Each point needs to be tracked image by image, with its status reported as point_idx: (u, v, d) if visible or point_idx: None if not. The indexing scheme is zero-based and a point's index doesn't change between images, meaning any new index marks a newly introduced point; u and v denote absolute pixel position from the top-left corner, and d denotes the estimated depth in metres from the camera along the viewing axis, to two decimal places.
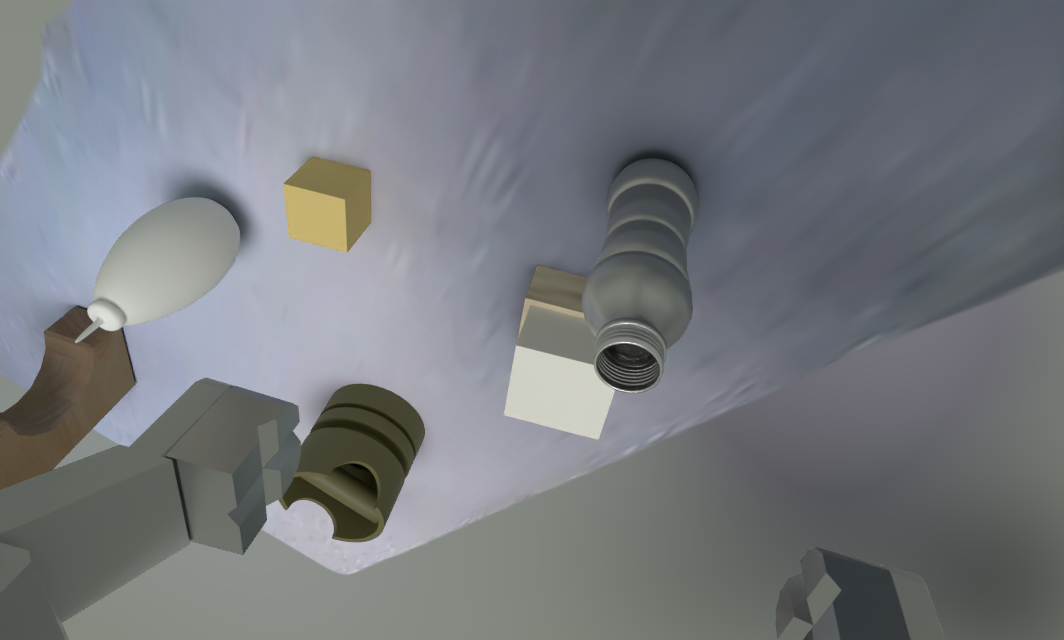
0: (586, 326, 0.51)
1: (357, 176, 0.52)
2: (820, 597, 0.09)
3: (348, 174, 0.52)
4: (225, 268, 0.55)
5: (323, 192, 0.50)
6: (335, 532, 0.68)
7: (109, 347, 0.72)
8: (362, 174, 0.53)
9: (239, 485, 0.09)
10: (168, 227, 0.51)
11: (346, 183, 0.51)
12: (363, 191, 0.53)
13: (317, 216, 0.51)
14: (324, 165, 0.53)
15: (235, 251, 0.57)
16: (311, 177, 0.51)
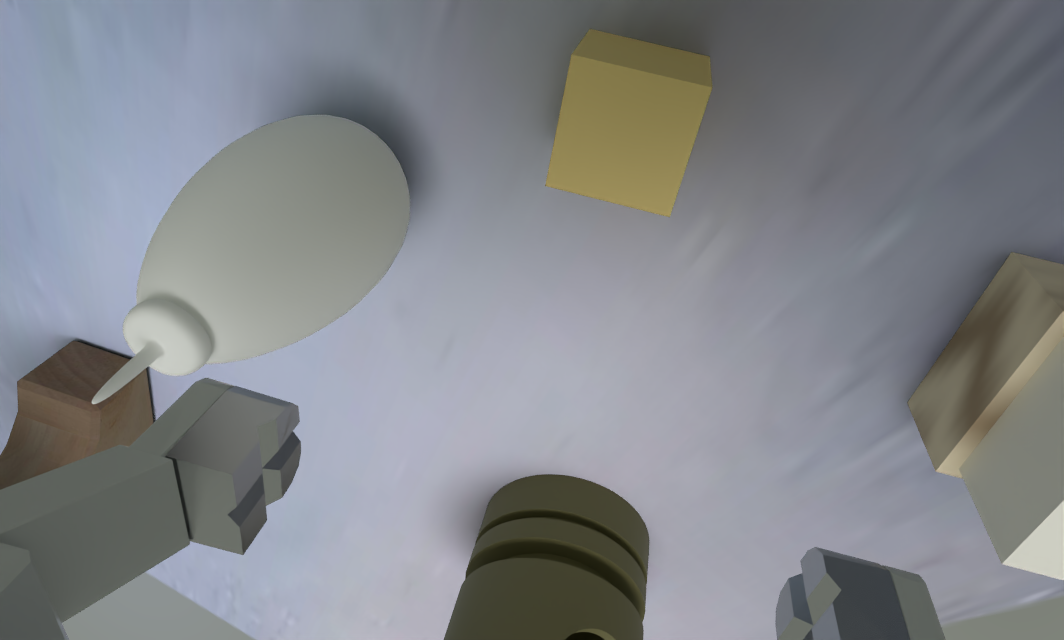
0: None
1: (695, 60, 0.25)
2: (820, 597, 0.09)
3: (677, 56, 0.25)
4: (395, 253, 0.27)
5: (660, 74, 0.23)
6: None
7: (126, 409, 0.43)
8: (701, 59, 0.26)
9: (240, 486, 0.09)
10: (305, 152, 0.24)
11: (687, 66, 0.24)
12: None
13: (629, 133, 0.24)
14: (622, 40, 0.26)
15: (408, 224, 0.29)
16: (615, 52, 0.24)
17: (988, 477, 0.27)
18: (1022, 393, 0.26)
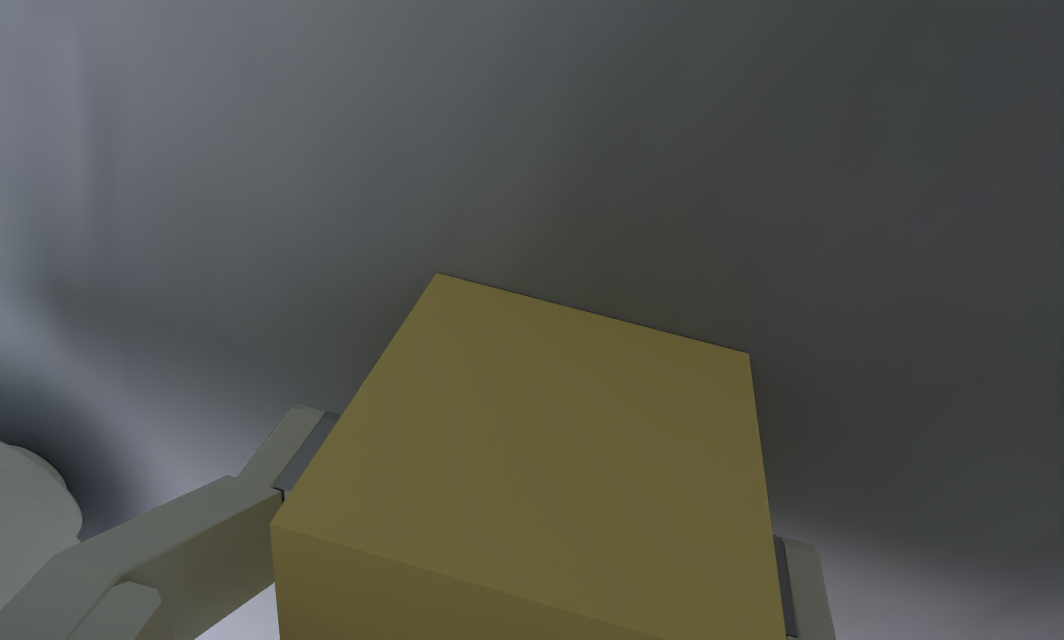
0: None
1: (715, 402, 0.09)
2: None
3: (661, 390, 0.09)
4: None
5: (595, 605, 0.06)
6: None
7: None
8: (729, 385, 0.09)
9: None
10: None
11: (693, 468, 0.08)
12: None
13: None
14: (510, 327, 0.09)
15: None
16: (463, 432, 0.08)
17: None
18: None
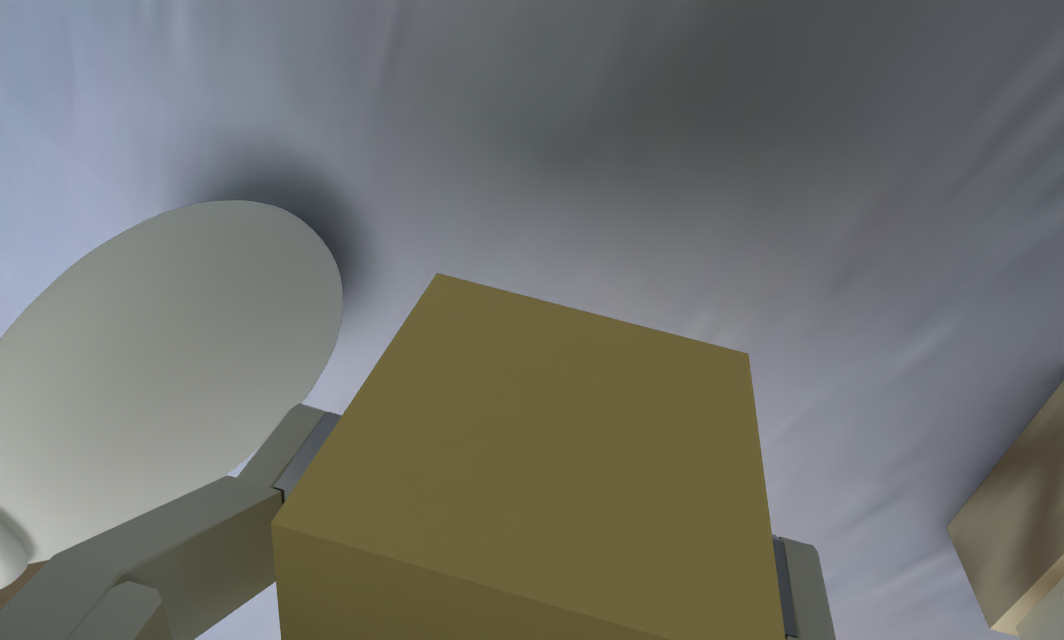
0: None
1: (714, 402, 0.09)
2: None
3: (661, 390, 0.09)
4: (317, 373, 0.22)
5: (594, 604, 0.06)
6: None
7: None
8: (728, 385, 0.09)
9: None
10: (186, 263, 0.18)
11: (692, 468, 0.08)
12: None
13: None
14: (510, 327, 0.09)
15: (338, 330, 0.23)
16: (463, 432, 0.08)
17: None
18: None
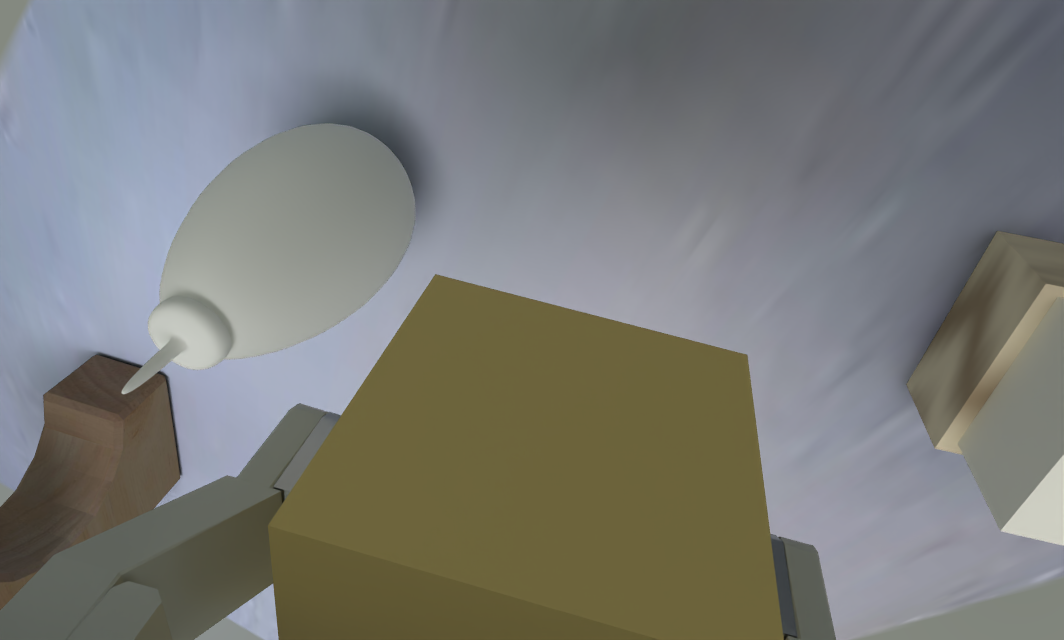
0: None
1: (712, 403, 0.09)
2: None
3: (660, 392, 0.09)
4: (402, 252, 0.29)
5: (592, 607, 0.06)
6: None
7: (148, 419, 0.44)
8: (727, 386, 0.09)
9: None
10: (313, 157, 0.25)
11: (691, 469, 0.08)
12: None
13: None
14: (509, 328, 0.09)
15: (413, 225, 0.30)
16: (461, 434, 0.08)
17: (985, 449, 0.28)
18: (1014, 364, 0.27)
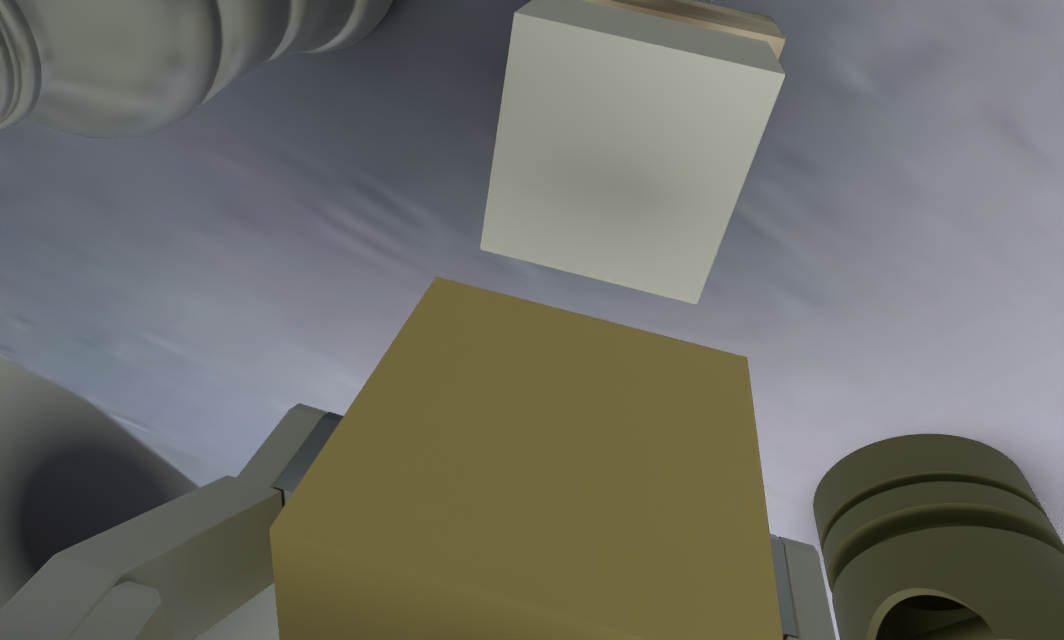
0: None
1: (713, 405, 0.09)
2: None
3: (660, 394, 0.09)
4: None
5: (593, 611, 0.06)
6: None
7: None
8: (727, 389, 0.09)
9: None
10: None
11: (691, 473, 0.08)
12: None
13: None
14: (509, 331, 0.09)
15: None
16: (462, 437, 0.08)
17: None
18: None
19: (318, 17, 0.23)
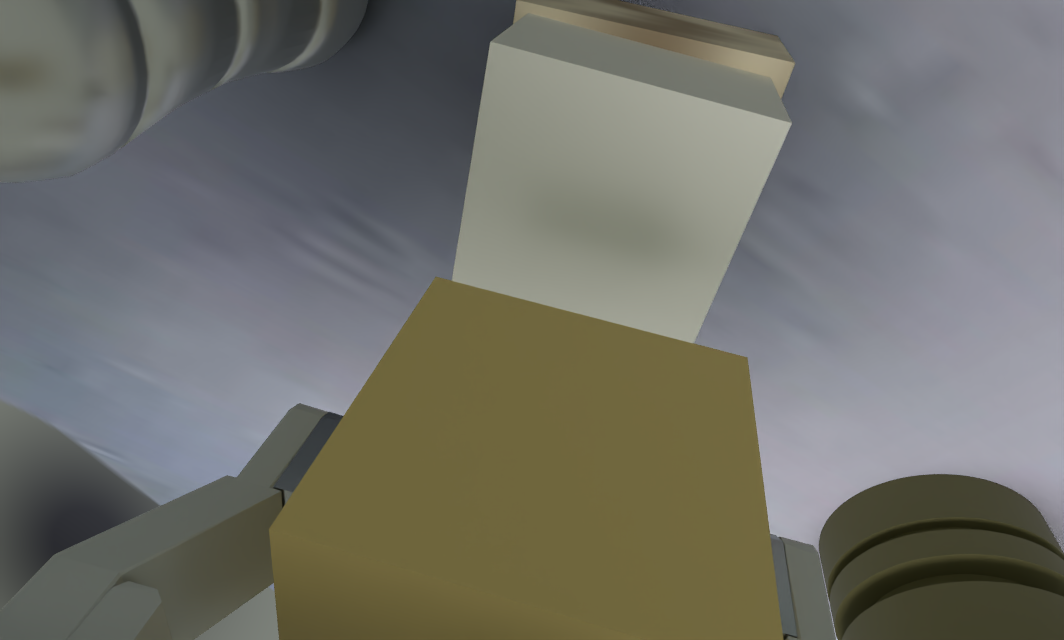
0: None
1: (712, 406, 0.09)
2: None
3: (660, 394, 0.09)
4: None
5: (593, 611, 0.06)
6: None
7: None
8: (727, 389, 0.09)
9: None
10: None
11: (690, 473, 0.08)
12: None
13: None
14: (509, 331, 0.09)
15: None
16: (461, 437, 0.08)
17: None
18: None
19: (274, 36, 0.20)
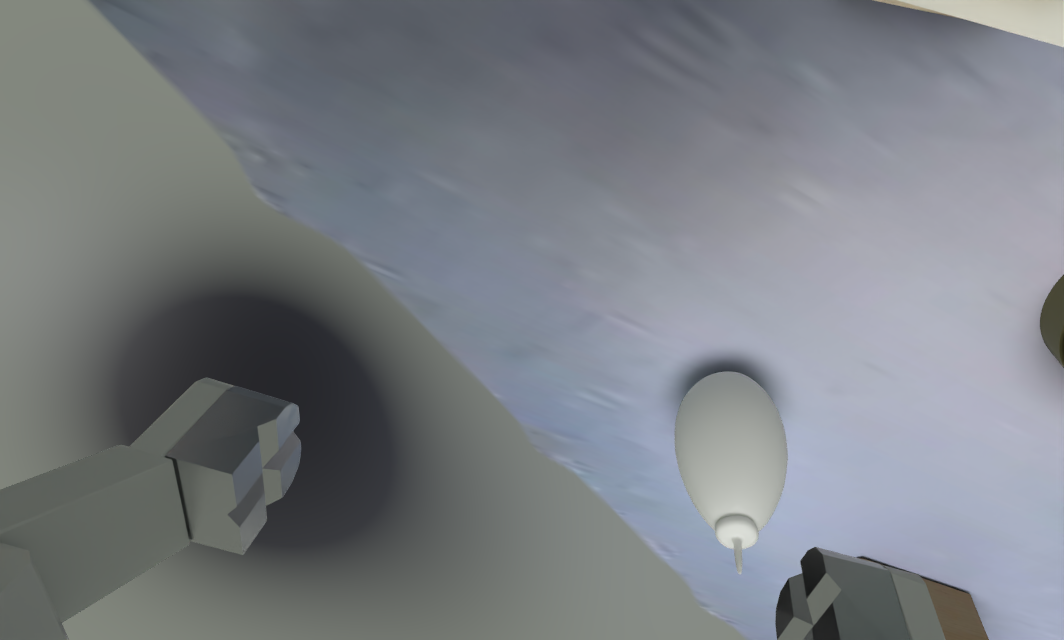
0: None
1: None
2: (820, 597, 0.09)
3: None
4: (755, 399, 0.46)
5: None
6: None
7: None
8: None
9: (240, 486, 0.09)
10: (683, 430, 0.47)
11: None
12: None
13: None
14: None
15: (747, 382, 0.48)
16: None
17: None
18: None
19: None
